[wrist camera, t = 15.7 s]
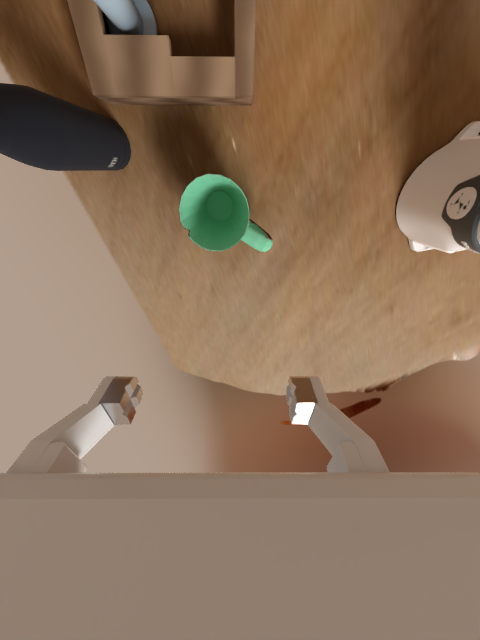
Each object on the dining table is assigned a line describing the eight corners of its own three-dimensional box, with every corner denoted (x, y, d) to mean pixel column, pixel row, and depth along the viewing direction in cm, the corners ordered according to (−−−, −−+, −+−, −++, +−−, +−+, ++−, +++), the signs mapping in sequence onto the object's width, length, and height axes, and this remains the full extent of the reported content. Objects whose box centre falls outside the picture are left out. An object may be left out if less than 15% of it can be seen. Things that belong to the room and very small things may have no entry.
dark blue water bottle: (83, 110, 31) (-527, -120, 6) (129, 123, 32) (-249, -33, 7) (90, 164, 34) (-279, 151, 10) (132, 174, 35) (-114, 187, 11)
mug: (183, 217, 39) (169, 230, 31) (205, 158, 34) (195, 155, 26) (252, 256, 43) (255, 276, 35) (281, 209, 38) (292, 220, 30)
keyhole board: (256, -81, 22) (259, -130, 19) (251, 105, 31) (253, 96, 27) (65, -83, 22) (30, -133, 19) (110, 104, 30) (93, 95, 27)
